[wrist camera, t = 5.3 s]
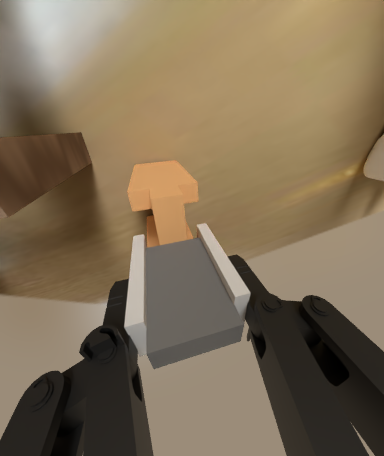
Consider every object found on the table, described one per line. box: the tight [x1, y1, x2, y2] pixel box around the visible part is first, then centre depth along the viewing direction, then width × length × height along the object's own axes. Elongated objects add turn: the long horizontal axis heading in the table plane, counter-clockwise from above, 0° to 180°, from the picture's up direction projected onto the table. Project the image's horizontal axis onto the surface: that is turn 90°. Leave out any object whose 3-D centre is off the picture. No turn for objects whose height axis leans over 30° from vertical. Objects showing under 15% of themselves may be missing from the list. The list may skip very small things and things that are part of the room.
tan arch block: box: [127, 160, 244, 369], centre depth 15 cm, size 8×5×18 cm, turn 3°
